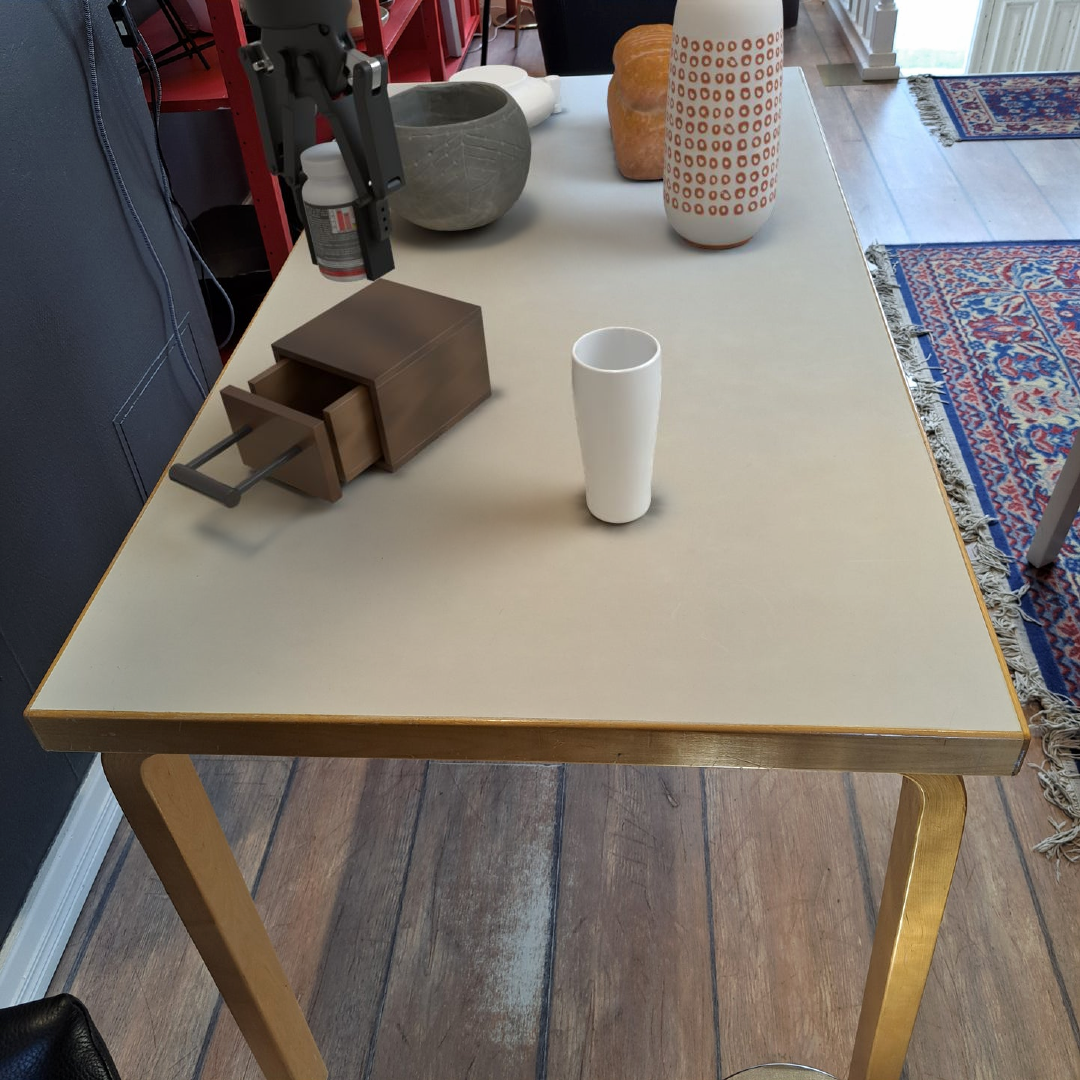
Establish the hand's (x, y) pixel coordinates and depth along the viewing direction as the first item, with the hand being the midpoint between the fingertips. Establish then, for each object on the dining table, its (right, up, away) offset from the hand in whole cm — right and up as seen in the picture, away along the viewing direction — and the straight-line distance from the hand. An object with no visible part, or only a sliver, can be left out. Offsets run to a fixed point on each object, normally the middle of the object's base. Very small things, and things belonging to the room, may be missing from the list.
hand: (353, 265), depth 84 cm
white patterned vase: (+38, +14, +37) cm, 55 cm away
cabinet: (+2, -11, +11) cm, 16 cm away
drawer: (-5, -17, +4) cm, 18 cm away
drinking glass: (+23, -21, -2) cm, 31 cm away
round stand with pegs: (+8, +43, +74) cm, 86 cm away
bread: (+33, +34, +60) cm, 77 cm away
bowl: (+5, +18, +45) cm, 49 cm away
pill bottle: (0, 0, 0) cm, 0 cm away
